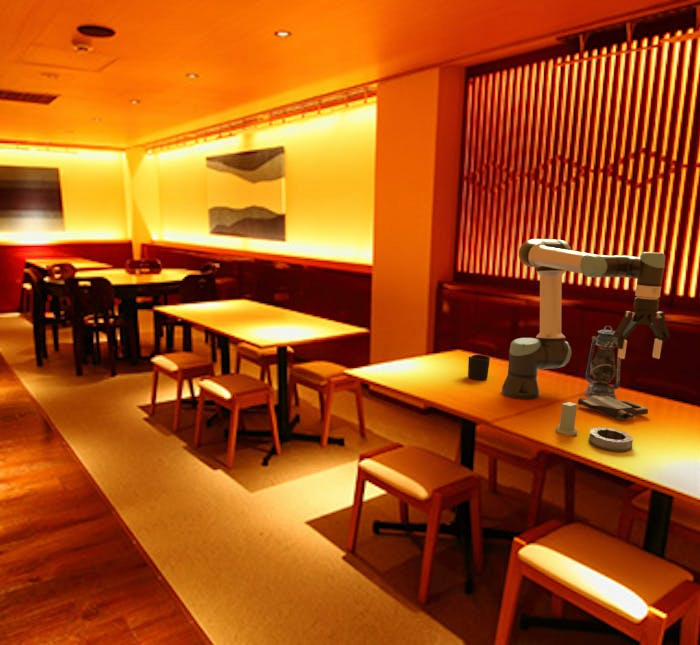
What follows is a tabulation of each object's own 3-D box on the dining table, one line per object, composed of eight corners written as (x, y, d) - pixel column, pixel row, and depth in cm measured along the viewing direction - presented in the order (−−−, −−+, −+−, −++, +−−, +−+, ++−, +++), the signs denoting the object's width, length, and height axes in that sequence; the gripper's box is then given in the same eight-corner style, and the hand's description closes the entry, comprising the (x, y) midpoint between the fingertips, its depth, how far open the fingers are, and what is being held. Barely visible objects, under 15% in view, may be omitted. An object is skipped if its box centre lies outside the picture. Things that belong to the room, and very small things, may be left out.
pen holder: (491, 381, 252) (493, 359, 250) (471, 381, 251) (472, 359, 249) (483, 375, 261) (485, 354, 260) (464, 375, 260) (465, 354, 258)
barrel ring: (580, 441, 185) (581, 432, 184) (602, 434, 192) (603, 424, 192) (618, 455, 174) (619, 445, 174) (639, 447, 182) (641, 437, 181)
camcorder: (625, 424, 203) (627, 411, 202) (575, 407, 220) (577, 395, 219) (649, 417, 212) (651, 404, 211) (599, 402, 229) (601, 389, 228)
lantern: (575, 392, 240) (583, 323, 235) (592, 388, 247) (600, 321, 241) (608, 402, 227) (617, 330, 222) (625, 398, 234) (634, 328, 229)
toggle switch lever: (551, 430, 193) (554, 402, 191) (563, 427, 197) (566, 399, 196) (569, 437, 188) (572, 408, 186) (581, 433, 192) (584, 405, 190)
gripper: (621, 298, 185) (613, 360, 189) (687, 299, 190) (677, 360, 194) (607, 295, 193) (599, 355, 197) (671, 296, 197) (662, 355, 201)
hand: (638, 357), depth 195 cm, fingers open, 13 cm apart
